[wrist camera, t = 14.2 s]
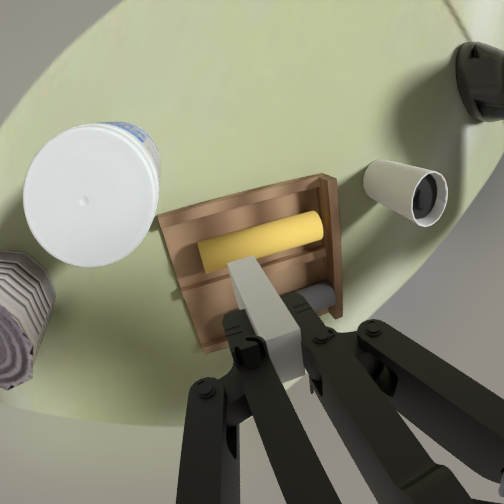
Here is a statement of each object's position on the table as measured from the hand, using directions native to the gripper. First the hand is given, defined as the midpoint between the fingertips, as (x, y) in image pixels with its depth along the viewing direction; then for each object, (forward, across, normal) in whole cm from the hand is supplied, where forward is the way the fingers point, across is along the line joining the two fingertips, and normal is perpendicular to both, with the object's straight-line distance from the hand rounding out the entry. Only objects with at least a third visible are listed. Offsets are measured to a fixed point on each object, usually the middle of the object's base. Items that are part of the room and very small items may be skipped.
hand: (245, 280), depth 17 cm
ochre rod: (+18, -5, +7) cm, 20 cm away
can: (+18, +26, +4) cm, 32 cm away
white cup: (+20, -24, +3) cm, 31 cm away
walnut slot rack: (+19, -4, +11) cm, 22 cm away
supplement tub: (+19, +8, -6) cm, 22 cm away
